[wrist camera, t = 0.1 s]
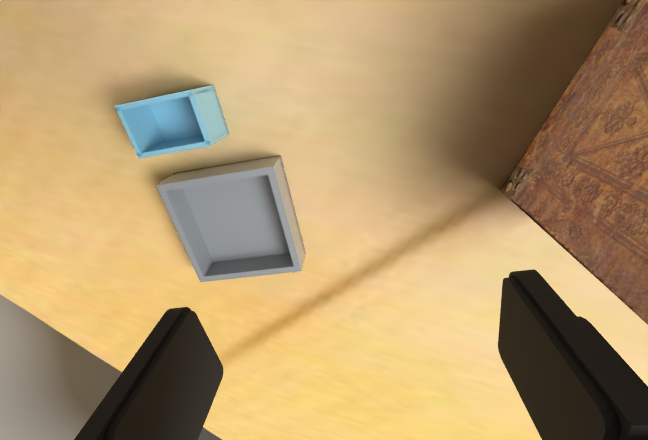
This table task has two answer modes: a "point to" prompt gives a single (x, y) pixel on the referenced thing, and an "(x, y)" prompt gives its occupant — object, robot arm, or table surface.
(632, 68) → the book
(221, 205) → the grey square tray
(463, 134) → the table surface
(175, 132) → the teal crate
